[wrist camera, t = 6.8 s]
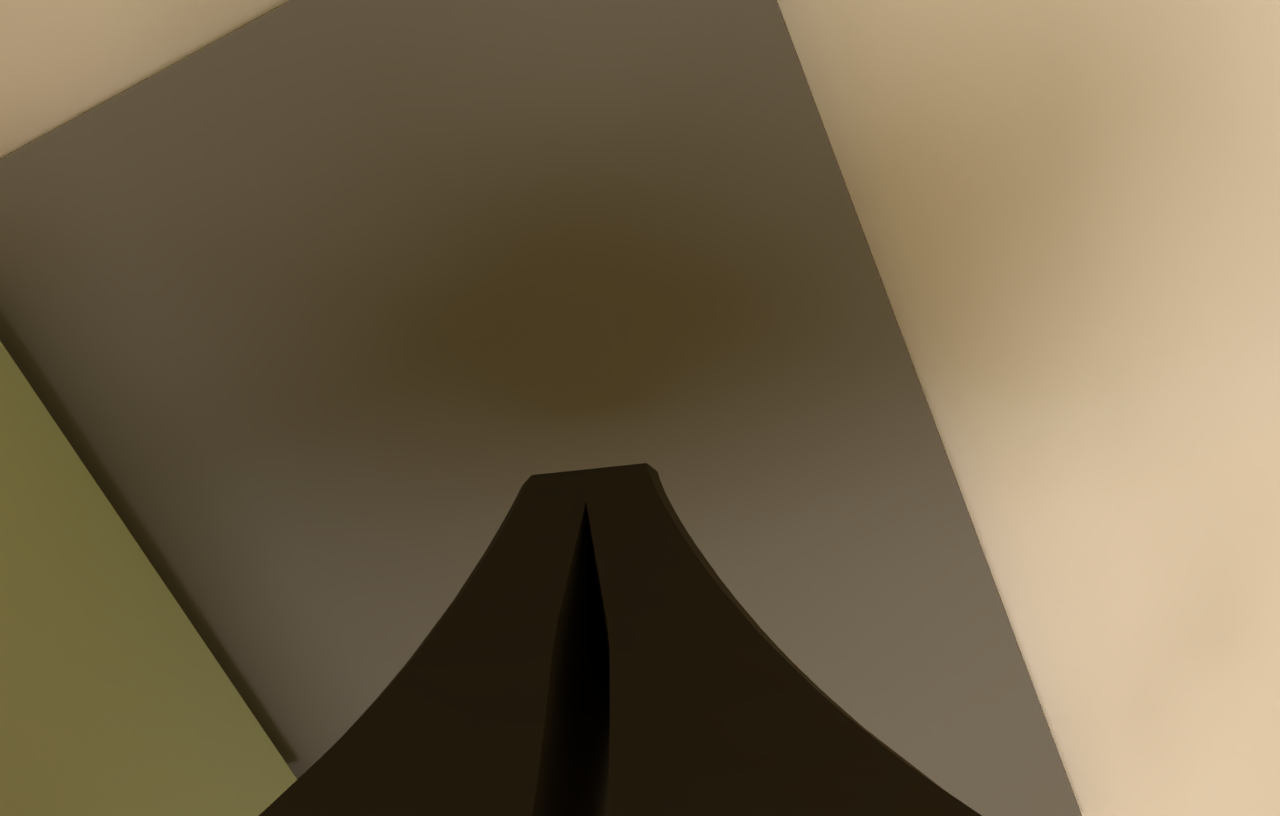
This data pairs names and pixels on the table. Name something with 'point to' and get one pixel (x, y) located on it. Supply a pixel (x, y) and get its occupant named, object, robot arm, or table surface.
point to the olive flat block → (104, 655)
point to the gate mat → (503, 351)
